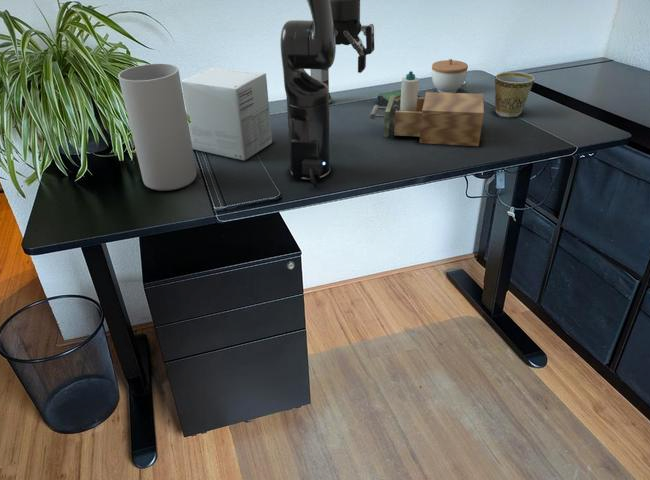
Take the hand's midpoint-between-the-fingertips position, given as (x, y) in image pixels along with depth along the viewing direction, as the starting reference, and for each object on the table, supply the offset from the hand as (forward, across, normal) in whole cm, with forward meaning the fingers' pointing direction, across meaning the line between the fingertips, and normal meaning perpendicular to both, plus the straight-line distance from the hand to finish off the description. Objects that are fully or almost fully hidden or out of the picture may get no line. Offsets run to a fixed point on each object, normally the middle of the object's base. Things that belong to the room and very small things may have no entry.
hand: (343, 70), depth 130 cm
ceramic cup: (+20, +38, +35) cm, 55 cm away
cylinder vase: (+18, -33, -31) cm, 49 cm away
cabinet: (+19, +25, +14) cm, 34 cm away
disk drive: (+20, +8, +31) cm, 37 cm away
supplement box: (+19, -28, -9) cm, 35 cm away
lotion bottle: (+17, +14, +12) cm, 25 cm away
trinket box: (+20, +18, +49) cm, 56 cm away
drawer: (+18, +13, +12) cm, 25 cm away
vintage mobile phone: (+20, -16, +28) cm, 38 cm away
